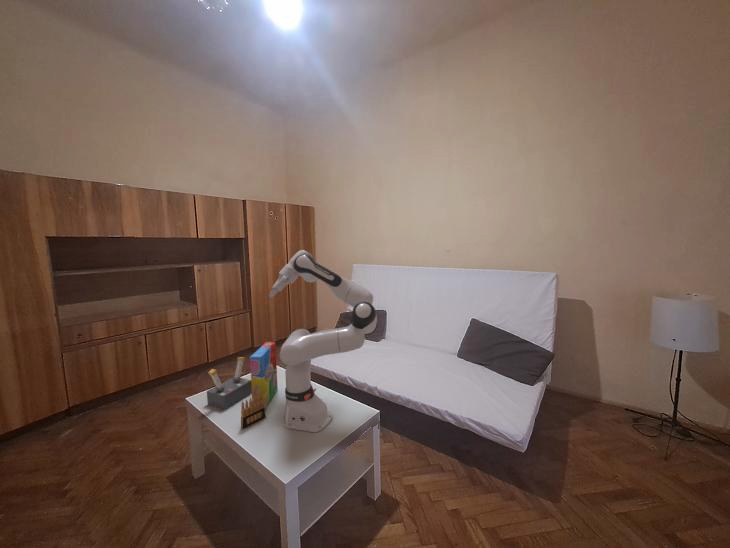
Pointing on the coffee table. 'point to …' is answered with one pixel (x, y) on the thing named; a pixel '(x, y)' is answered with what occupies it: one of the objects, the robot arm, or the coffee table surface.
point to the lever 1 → (216, 380)
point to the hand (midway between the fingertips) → (269, 296)
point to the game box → (264, 372)
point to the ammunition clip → (252, 412)
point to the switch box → (229, 393)
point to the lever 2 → (238, 369)
